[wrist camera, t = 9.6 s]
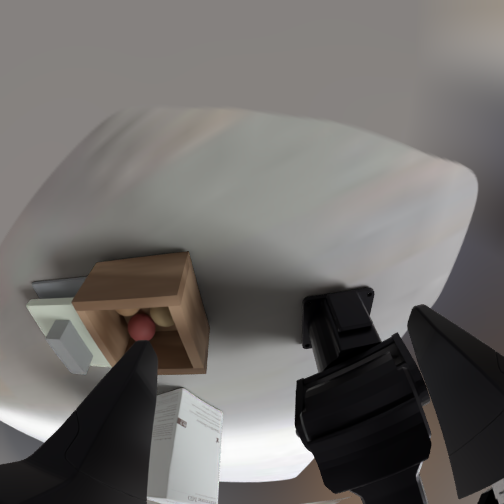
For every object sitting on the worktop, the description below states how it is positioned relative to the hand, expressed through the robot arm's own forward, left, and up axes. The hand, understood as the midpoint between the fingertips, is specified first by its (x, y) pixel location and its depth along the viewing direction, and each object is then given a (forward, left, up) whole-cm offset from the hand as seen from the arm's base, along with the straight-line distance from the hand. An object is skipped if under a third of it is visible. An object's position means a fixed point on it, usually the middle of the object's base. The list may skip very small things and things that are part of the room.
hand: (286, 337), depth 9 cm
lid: (-10, +19, -11) cm, 24 cm away
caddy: (-7, +9, -12) cm, 17 cm away
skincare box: (-26, +12, -12) cm, 31 cm away
